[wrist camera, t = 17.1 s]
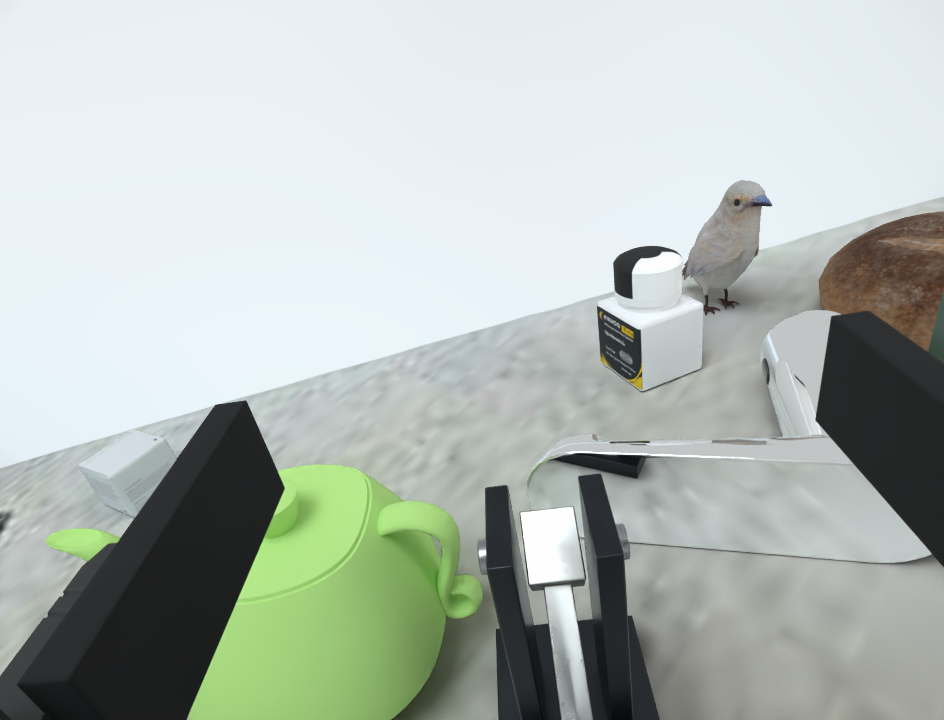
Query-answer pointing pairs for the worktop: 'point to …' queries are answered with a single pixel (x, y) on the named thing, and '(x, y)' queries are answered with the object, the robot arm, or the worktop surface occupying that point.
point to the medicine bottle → (650, 320)
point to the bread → (891, 275)
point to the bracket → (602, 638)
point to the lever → (559, 598)
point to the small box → (128, 470)
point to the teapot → (331, 603)
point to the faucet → (741, 476)
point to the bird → (727, 240)
